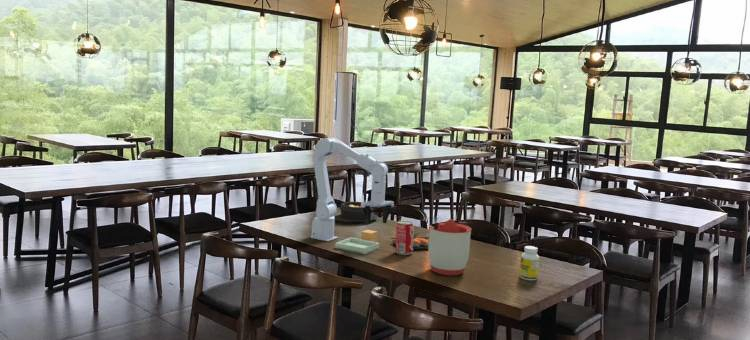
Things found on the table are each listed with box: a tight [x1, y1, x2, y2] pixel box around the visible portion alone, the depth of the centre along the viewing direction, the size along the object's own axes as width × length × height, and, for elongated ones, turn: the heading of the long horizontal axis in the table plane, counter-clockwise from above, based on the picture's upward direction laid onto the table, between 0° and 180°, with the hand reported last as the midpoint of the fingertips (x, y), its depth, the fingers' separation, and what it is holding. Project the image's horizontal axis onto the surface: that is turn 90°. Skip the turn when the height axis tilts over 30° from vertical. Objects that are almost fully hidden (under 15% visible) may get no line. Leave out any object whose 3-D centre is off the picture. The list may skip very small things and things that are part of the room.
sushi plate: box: [390, 232, 429, 251], centre depth 267 cm, size 29×30×4 cm
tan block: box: [360, 229, 378, 243], centre depth 260 cm, size 5×5×5 cm
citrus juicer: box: [425, 218, 473, 277], centre depth 224 cm, size 16×17×20 cm
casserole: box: [334, 201, 379, 224], centre depth 300 cm, size 25×19×8 cm
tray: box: [334, 237, 380, 255], centre depth 250 cm, size 14×12×2 cm
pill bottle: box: [519, 245, 540, 281], centre depth 221 cm, size 6×6×12 cm
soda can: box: [395, 220, 415, 256], centre depth 245 cm, size 7×7×13 cm
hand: (376, 223), depth 254 cm, fingers open, 7 cm apart
